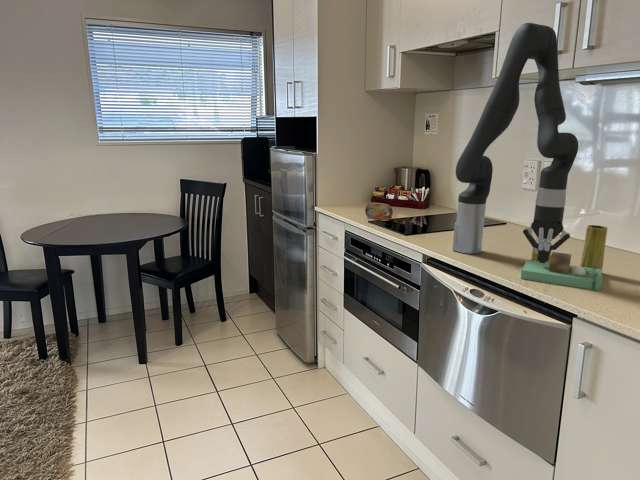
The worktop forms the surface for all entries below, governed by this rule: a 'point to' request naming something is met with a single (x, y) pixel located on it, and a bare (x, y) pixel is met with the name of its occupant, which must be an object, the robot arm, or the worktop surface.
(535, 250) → the supplement bottle
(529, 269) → the green
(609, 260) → the worktop surface
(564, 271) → the block
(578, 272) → the ball
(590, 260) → the vase
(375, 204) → the tin
